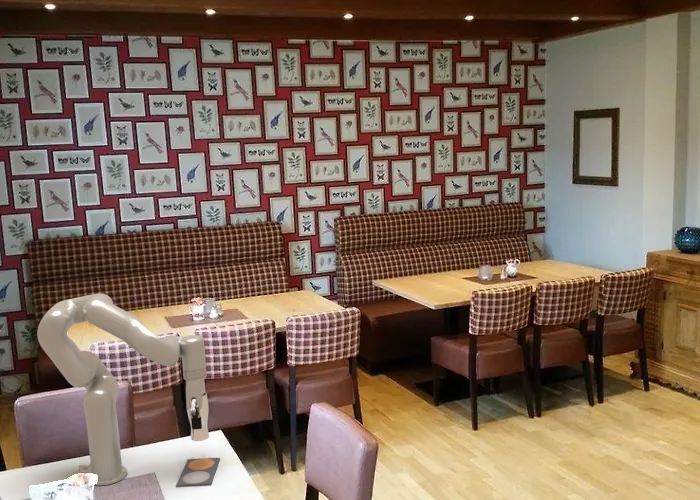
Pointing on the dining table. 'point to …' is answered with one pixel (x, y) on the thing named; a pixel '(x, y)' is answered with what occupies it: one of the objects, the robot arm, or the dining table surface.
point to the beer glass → (201, 433)
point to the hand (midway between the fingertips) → (199, 424)
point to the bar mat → (198, 472)
